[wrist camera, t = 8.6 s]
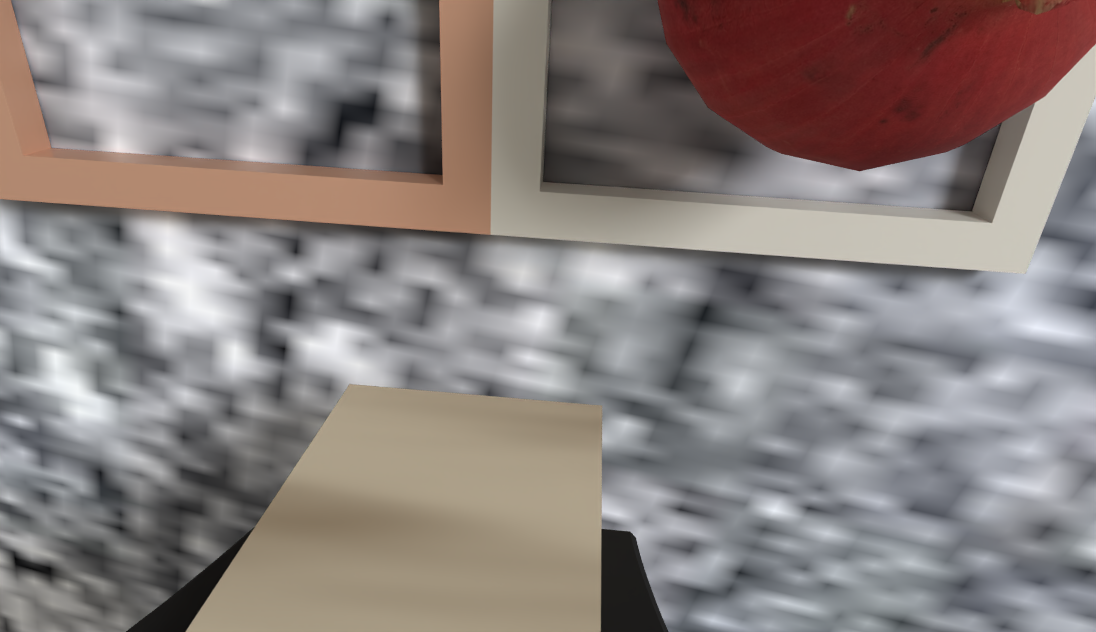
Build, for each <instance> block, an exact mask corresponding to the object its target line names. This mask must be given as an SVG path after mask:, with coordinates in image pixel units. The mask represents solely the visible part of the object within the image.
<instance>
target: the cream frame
mask: <svg viewBox="0 0 1096 632" xmlns="http://www.w3.org/2000/svg"><path fill="white" fill-rule="evenodd" d="M550 21H551V0H494V2H493V80H492V158H491V235H501V236H514V237H528V238H542V239H556V240H569V241H583V242H597V243H611V244H624V245H638V246H652V247H665V248H679V249H693V250H707V251H720V252H734V253H748V254H761V255H775V256H789V257H803V258H816V259H830V260H844V261H858V262H871V263H885V264H899V265H912V266H926V267H940V268H954V269H967V270H981V271H995V272H1009V273H1022V274H1026V272H1027V269H1028V266H1029V264H1030V261H1031V259H1032V256H1033V254H1034V251H1035V249H1036V246H1037V244H1038V241H1039V239H1040V236H1041V233H1042V231H1043V228H1044V226H1045V223H1046V221H1047V218H1048V216H1049V213H1050V211H1051V208H1052V206H1053V203H1054V200H1055V198H1056V195H1057V193H1058V190H1059V188H1060V185H1061V183H1062V180H1063V178H1064V175H1065V173H1066V170H1067V167H1068V165H1069V162H1070V160H1071V157H1072V155H1073V152H1074V150H1075V147H1076V145H1077V142H1078V140H1079V137H1080V135H1081V132H1082V129H1083V127H1084V124H1085V122H1086V119H1087V117H1088V114H1089V112H1090V109H1091V107H1092V104H1093V102H1094V99H1095V96H1096V44H1095V45H1094V46H1093V47H1092V48H1091V49H1090V50H1089V52H1088V53H1087V54H1086V55H1085V56H1084V57H1083V58H1082V59H1081V60H1080V61H1079V62H1078V63H1077V64H1076V65H1075V66H1074V67H1073V68H1072V69H1071V70H1070V71H1069V72H1068V73H1067V74H1066V75H1065V76H1064V77H1063V78H1062V79H1061V80H1060V81H1059V82H1058V83H1057V84H1056V85H1055V87H1054V88H1053V89H1052V90H1051V91H1050V92H1049V93H1048V94H1047V95H1046V96H1045V97H1044V98H1042V99H1040V100H1039V101H1037V102H1035V103H1034V104H1032V105H1030V106H1028V107H1027V108H1025V109H1023V110H1022V111H1020V112H1018V113H1017V114H1015V115H1013V116H1012V117H1010V118H1008V119H1007V120H1005V121H1003V122H1002V125H1001V127H1000V130H999V133H998V136H997V139H996V142H995V145H994V148H993V151H992V154H991V157H990V160H989V163H988V166H987V169H986V172H985V174H984V177H983V180H982V183H981V186H980V189H979V192H978V195H977V198H976V201H975V204H974V207H973V210H972V211H958V210H944V209H929V208H915V207H900V206H886V205H871V204H857V203H842V202H828V201H813V200H799V199H784V198H770V197H755V196H741V195H726V194H711V193H697V192H682V191H668V190H653V189H639V188H624V187H610V186H595V185H581V184H566V183H552V182H543V169H544V148H545V127H546V106H547V85H548V64H549V42H550Z"/></svg>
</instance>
